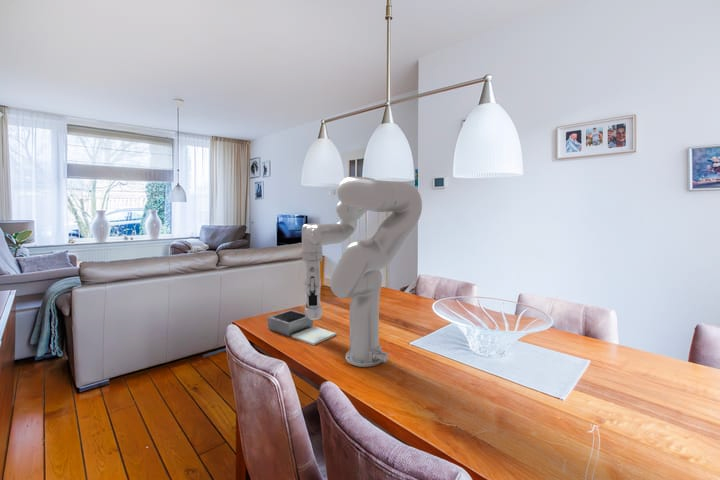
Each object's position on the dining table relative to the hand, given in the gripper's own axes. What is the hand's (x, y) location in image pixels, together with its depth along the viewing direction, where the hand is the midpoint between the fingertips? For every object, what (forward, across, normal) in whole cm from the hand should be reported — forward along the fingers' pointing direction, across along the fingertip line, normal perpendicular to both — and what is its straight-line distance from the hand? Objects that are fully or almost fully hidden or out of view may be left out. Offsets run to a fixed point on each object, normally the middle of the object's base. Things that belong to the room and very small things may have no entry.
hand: (313, 302), depth 128 cm
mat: (+13, 0, 0) cm, 13 cm away
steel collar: (+13, +10, +10) cm, 19 cm away
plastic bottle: (+7, 0, 0) cm, 7 cm away
